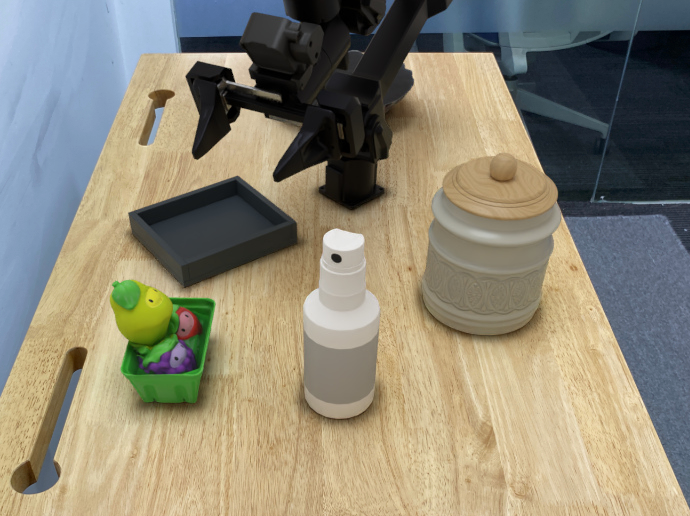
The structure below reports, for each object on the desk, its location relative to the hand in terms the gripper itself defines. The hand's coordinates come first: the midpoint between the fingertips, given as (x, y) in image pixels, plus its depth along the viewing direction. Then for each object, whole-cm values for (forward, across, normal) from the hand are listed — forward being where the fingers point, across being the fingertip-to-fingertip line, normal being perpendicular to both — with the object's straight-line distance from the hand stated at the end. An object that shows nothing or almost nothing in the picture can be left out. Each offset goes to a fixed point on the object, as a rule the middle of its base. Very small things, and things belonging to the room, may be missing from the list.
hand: (233, 167), depth 74 cm
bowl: (-41, -13, +29) cm, 52 cm away
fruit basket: (+18, 0, +12) cm, 21 cm away
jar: (-7, +23, +20) cm, 31 cm away
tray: (-3, -10, +18) cm, 21 cm away
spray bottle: (+13, +16, +13) cm, 24 cm away
